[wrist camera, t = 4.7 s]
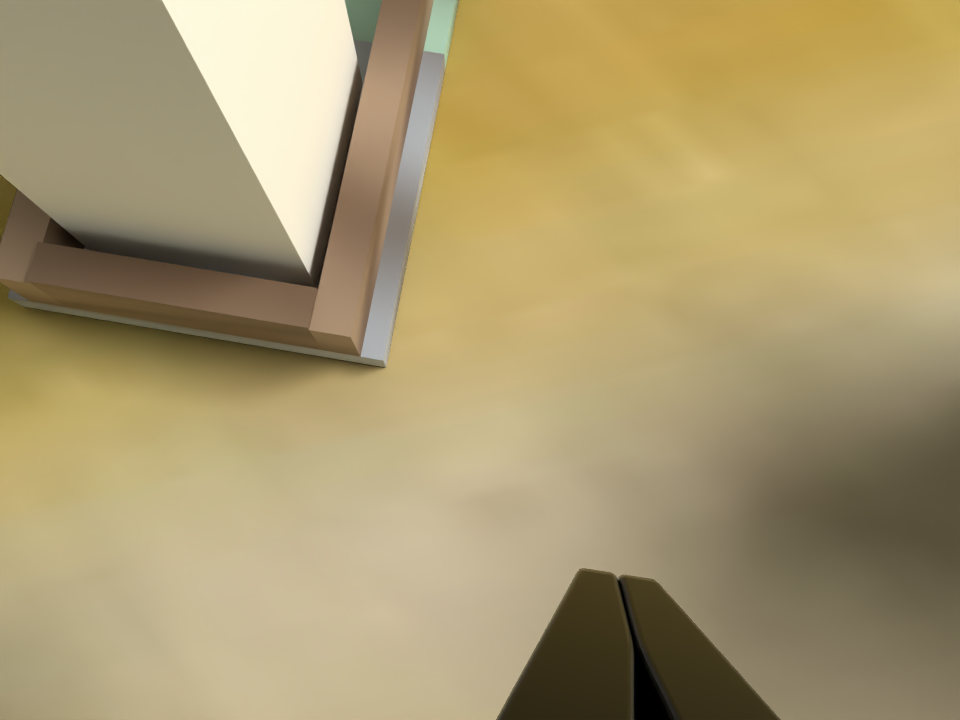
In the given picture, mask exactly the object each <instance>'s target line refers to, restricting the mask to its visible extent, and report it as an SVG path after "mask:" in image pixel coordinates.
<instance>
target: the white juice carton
mask: <svg viewBox="0 0 960 720" xmlns="http://www.w3.org/2000/svg"><path fill="white" fill-rule="evenodd" d="M362 83H363V82H362V78H361V73H360V69H359V64H358V60H357V55H356V50H355V46H354V41H353V37H352V32H351V27H350V23H349V18H348V14H347V9H346V4H345V0H0V174H1V175H2V176H3V177H4V178H5V179H6V180H8V181H9V182H10V183H11V184H12V185H14V186H15V187H16V188H17V189H18V190H19V191H21V192H22V193H23V194H24V195H25V196H27V197H28V198H29V199H30V200H31V201H32V202H34V203H35V204H36V205H37V206H38V207H39V208H41V209H42V210H43V211H44V212H45V213H47V214H48V215H49V216H50V217H51V218H52V219H54V220H55V221H56V222H57V223H58V224H60V225H61V226H62V227H63V228H64V229H65V230H67V231H68V232H69V233H70V234H71V235H72V236H74V237H75V238H76V239H77V240H78V241H80V242H81V243H82V244H83V245H84V246H85V247H87V248H88V249H89V250H91V251H97V252H103V253H109V254H115V255H121V256H127V257H134V258H140V259H146V260H152V261H158V262H164V263H170V264H176V265H182V266H188V267H194V268H200V269H206V270H212V271H218V272H224V273H230V274H236V275H242V276H248V277H254V278H260V279H266V280H272V281H278V282H284V283H290V284H296V285H302V286H308V287H314V288H317V286H318V282H319V277H320V273H321V268H322V264H323V259H324V254H325V250H326V245H327V241H328V236H329V232H330V227H331V223H332V218H333V214H334V209H335V205H336V200H337V196H338V191H339V187H340V182H341V178H342V173H343V169H344V164H345V160H346V155H347V151H348V146H349V142H350V137H351V133H352V128H353V124H354V119H355V114H356V110H357V105H358V101H359V96H360V92H361V87H362Z"/></svg>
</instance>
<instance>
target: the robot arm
mask: <svg viewBox="0 0 960 720" xmlns="http://www.w3.org/2000/svg"><path fill="white" fill-rule="evenodd" d="M496 720H780V719H779V718H778V716H777V715H776V714H775V713H774V712H773V711H772V710H771V709H770V707H769V706H768V705H767V704H766V703H765V702H764V701H763V700H762V698H761V697H760V696H759V695H758V694H757V693H756V692H755V691H754V689H753V688H752V687H751V686H750V685H749V684H748V683H747V682H746V681H745V679H744V678H743V677H742V676H741V675H740V674H739V673H738V672H737V670H736V669H735V668H734V667H733V666H732V665H731V664H730V663H729V661H728V660H727V659H726V658H725V657H724V656H723V655H722V654H721V652H720V651H719V650H718V649H717V648H716V647H715V646H714V645H713V643H712V642H711V641H710V640H709V639H708V638H707V637H706V636H705V635H704V633H703V632H702V631H701V630H700V629H699V628H698V627H697V626H696V624H695V623H694V622H693V621H692V620H691V619H690V618H689V617H688V615H687V614H686V613H685V612H684V611H683V610H682V609H681V608H680V606H679V605H678V604H677V603H676V602H675V601H674V600H673V599H672V598H671V596H670V595H669V594H668V593H667V592H666V591H665V590H664V589H663V587H662V586H661V585H660V584H659V583H657V582H656V581H655V580H653V579H649V578H642V577H636V576H630V575H621V576H619V577H618V578H617V577H616V576H615V575H614V574H613V573H610V572H604V571H598V570H591V569H585V568H584V569H580V570H579V571H578V572H577V573H576V575H575V577H574V579H573V581H572V583H571V584H570V586H569V588H568V590H567V592H566V593H565V595H564V597H563V599H562V601H561V603H560V604H559V606H558V608H557V610H556V612H555V614H554V615H553V617H552V619H551V621H550V623H549V624H548V626H547V628H546V630H545V632H544V634H543V635H542V637H541V639H540V641H539V643H538V644H537V646H536V648H535V650H534V652H533V654H532V655H531V657H530V659H529V661H528V663H527V664H526V666H525V668H524V670H523V672H522V674H521V675H520V677H519V679H518V681H517V683H516V684H515V686H514V688H513V690H512V692H511V694H510V695H509V697H508V699H507V701H506V703H505V704H504V706H503V708H502V710H501V712H500V714H499V715H498V717H497V719H496Z"/></svg>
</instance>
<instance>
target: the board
mask: <svg viewBox="0 0 960 720" xmlns="http://www.w3.org/2000/svg"><path fill="white" fill-rule="evenodd" d="M458 2H459V0H345V4H346V9H347V14H348V18H349V23H350V27H351V32H352V37H353V41H354V46H355V50H356V55H357V60H358V64H359V69H360V73H361V78H362V82H363V83H362V87H361V92H360V96H359V101H358V105H357V110H356V114H355V119H354V124H353V128H352V133H351V137H350V142H349V146H348V151H347V155H346V160H345V164H344V169H343V173H342V178H341V182H340V187H339V191H338V196H337V200H336V205H335V209H334V214H333V218H332V223H331V227H330V232H329V236H328V241H327V245H326V250H325V254H324V259H323V264H322V268H321V273H320V277H319V282H318V286H317V288H314V287H308V286H302V285H296V284H290V283H284V282H278V281H272V280H266V279H260V278H254V277H248V276H242V275H236V274H230V273H224V272H218V271H212V270H206V269H200V268H194V267H188V266H182V265H176V264H170V263H164V262H158V261H152V260H146V259H140V258H134V257H127V256H121V255H115V254H109V253H103V252H97V251H91V250H89V249H88V248H87V247H85V246H84V245H83V244H82V243H81V242H80V241H78V240H77V239H76V238H75V237H74V236H72V235H71V234H70V233H69V232H68V231H67V230H65V229H64V228H63V227H62V226H61V225H60V224H58V223H57V222H56V221H55V220H54V219H52V218H51V217H50V216H49V215H48V214H47V213H45V212H44V211H43V210H42V209H41V208H39V207H38V206H37V205H36V204H35V203H34V202H32V201H31V200H30V199H29V198H28V197H27V196H25V195H24V194H23V193H22V192H21V191H19V190H18V189H17V191H16V195H15V198H14V201H13V204H12V207H11V211H10V214H9V217H8V220H7V224H6V227H5V230H4V233H3V236H2V240H1V243H0V283H1V284H3V285H4V286H6V287H7V288H9V289H10V291H9V294H8V298H9V299H11V300H12V301H14V302H16V303H17V304H19V305H21V306H23V307H29V308H35V309H41V310H47V311H53V312H59V313H65V314H71V315H77V316H83V317H89V318H94V319H100V320H106V321H112V322H118V323H124V324H130V325H136V326H142V327H148V328H154V329H160V330H166V331H172V332H178V333H184V334H190V335H196V336H202V337H208V338H214V339H220V340H226V341H232V342H237V343H243V344H249V345H255V346H261V347H267V348H273V349H279V350H285V351H291V352H297V353H303V354H309V355H315V356H321V357H327V358H333V359H339V360H345V361H351V362H357V363H363V364H369V365H375V366H380V367H386V365H387V360H388V355H389V350H390V345H391V340H392V335H393V330H394V325H395V320H396V315H397V310H398V305H399V300H400V295H401V290H402V285H403V280H404V275H405V270H406V264H407V259H408V254H409V249H410V244H411V239H412V234H413V229H414V224H415V219H416V214H417V209H418V204H419V199H420V194H421V189H422V184H423V179H424V174H425V169H426V164H427V159H428V154H429V149H430V143H431V138H432V133H433V128H434V123H435V118H436V113H437V108H438V103H439V98H440V93H441V88H442V83H443V78H444V73H445V68H446V63H447V58H448V53H449V48H450V43H451V38H452V33H453V28H454V22H455V17H456V12H457V7H458Z"/></svg>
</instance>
